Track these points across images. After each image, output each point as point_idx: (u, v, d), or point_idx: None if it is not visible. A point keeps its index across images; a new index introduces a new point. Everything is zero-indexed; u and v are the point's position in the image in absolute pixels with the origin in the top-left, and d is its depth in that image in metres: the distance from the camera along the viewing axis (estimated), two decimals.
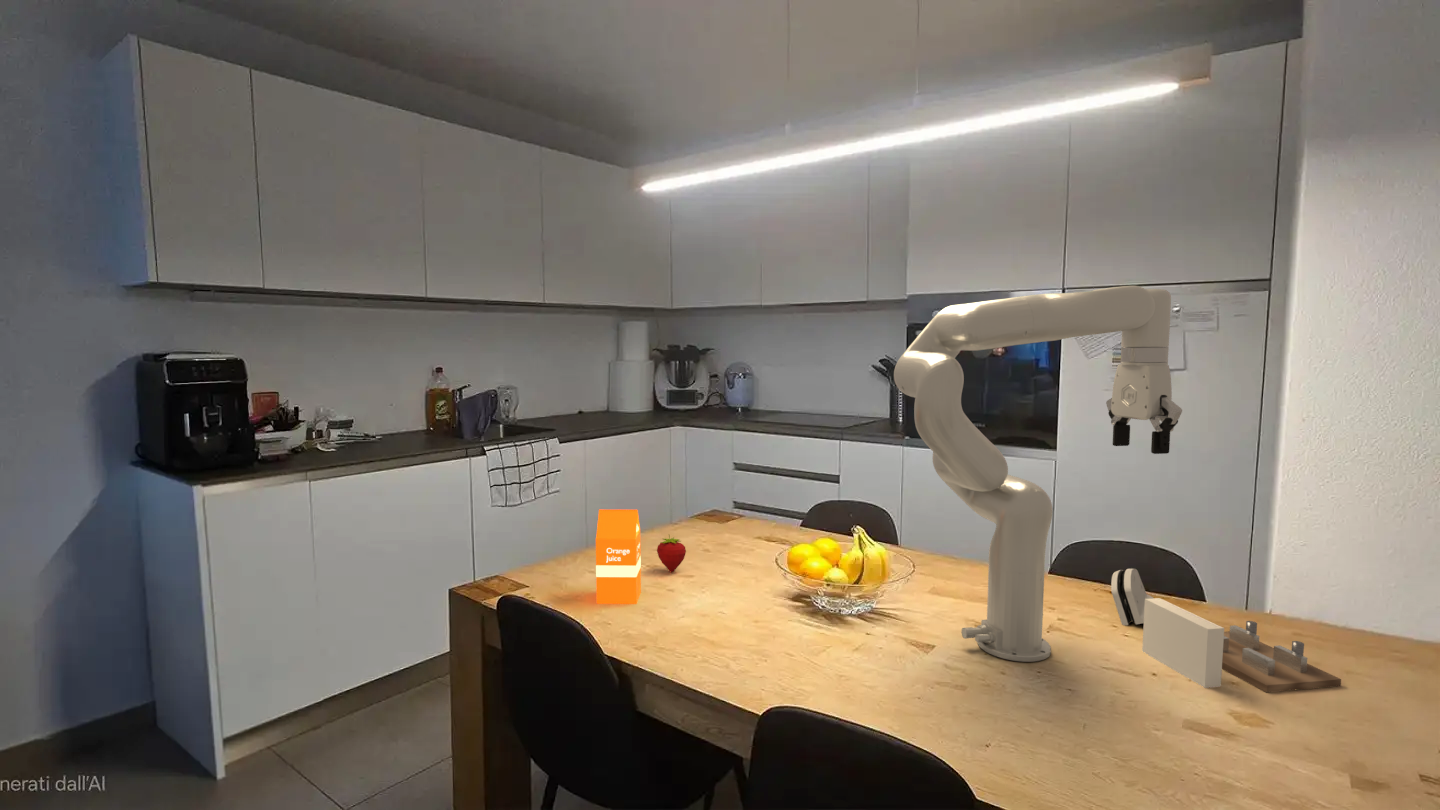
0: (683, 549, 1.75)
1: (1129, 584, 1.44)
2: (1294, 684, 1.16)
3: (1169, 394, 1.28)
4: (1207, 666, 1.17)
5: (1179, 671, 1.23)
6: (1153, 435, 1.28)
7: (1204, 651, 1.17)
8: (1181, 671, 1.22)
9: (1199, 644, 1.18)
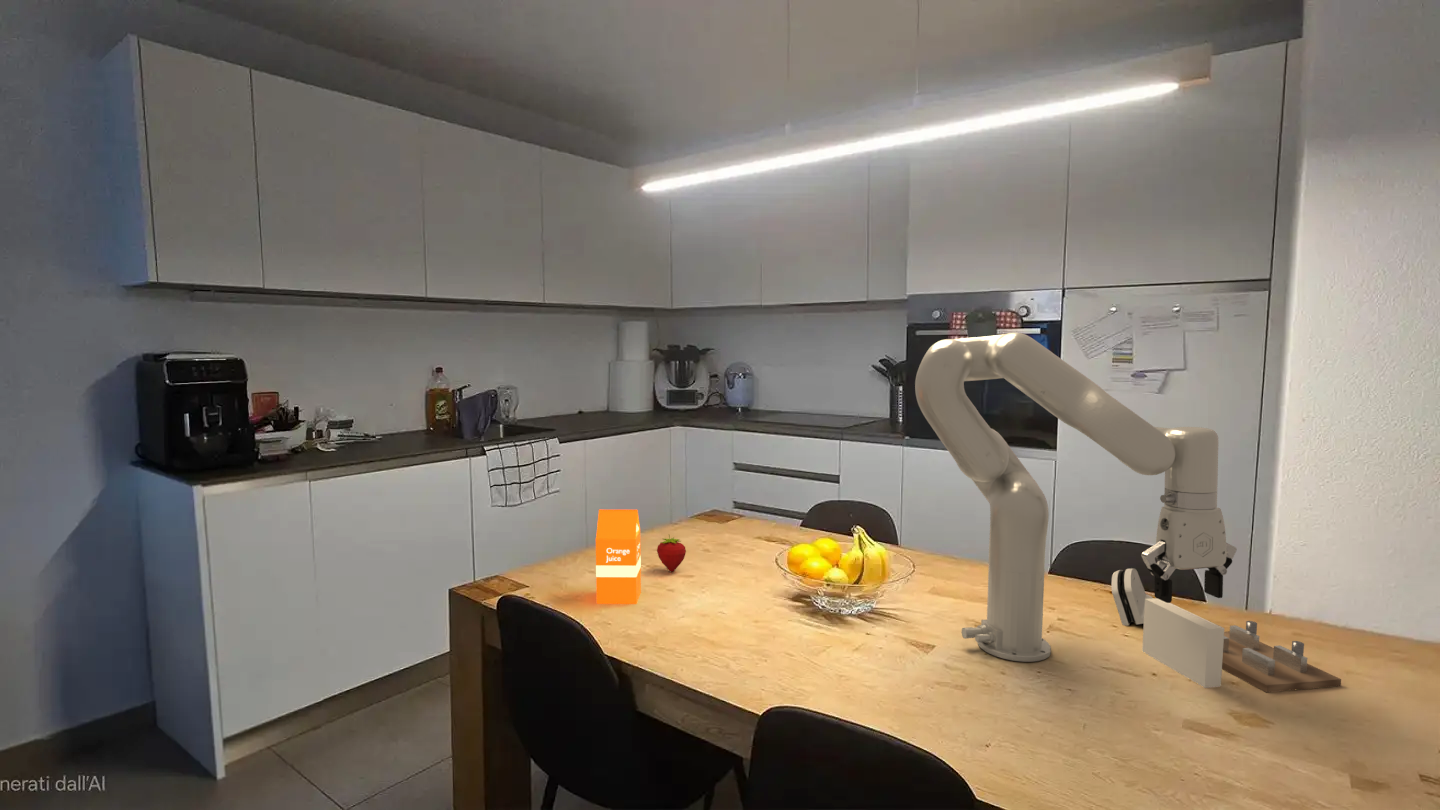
0: (683, 549, 1.75)
1: (1129, 584, 1.44)
2: (1294, 684, 1.16)
3: None
4: (1207, 666, 1.17)
5: (1179, 671, 1.23)
6: (1221, 579, 1.22)
7: (1204, 651, 1.17)
8: (1181, 671, 1.22)
9: (1200, 644, 1.18)
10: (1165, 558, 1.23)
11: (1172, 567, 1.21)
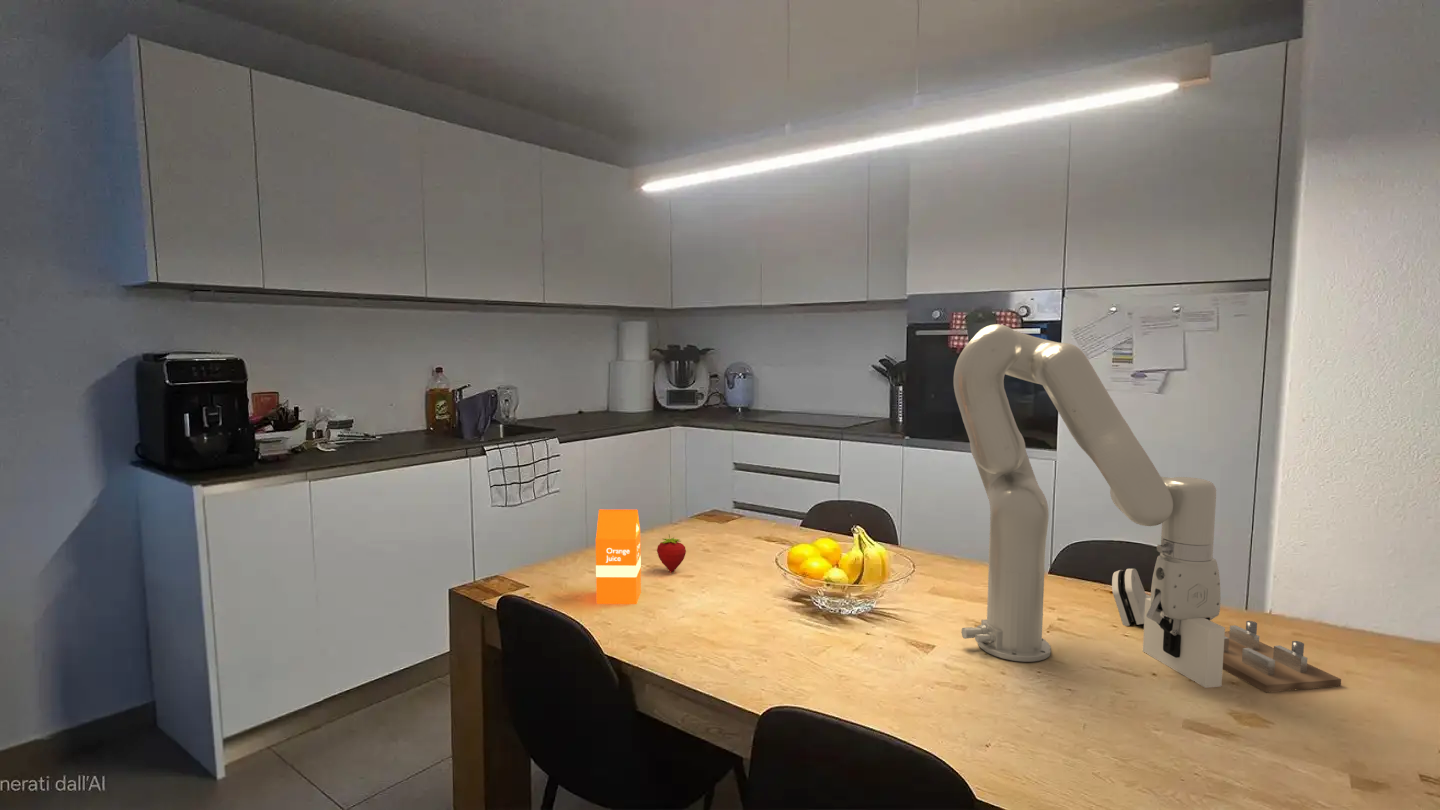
0: (683, 549, 1.75)
1: (1130, 584, 1.44)
2: (1294, 684, 1.16)
3: None
4: (1207, 666, 1.17)
5: (1180, 671, 1.23)
6: None
7: (1204, 650, 1.17)
8: (1182, 671, 1.22)
9: (1200, 643, 1.18)
10: None
11: (1176, 621, 1.22)
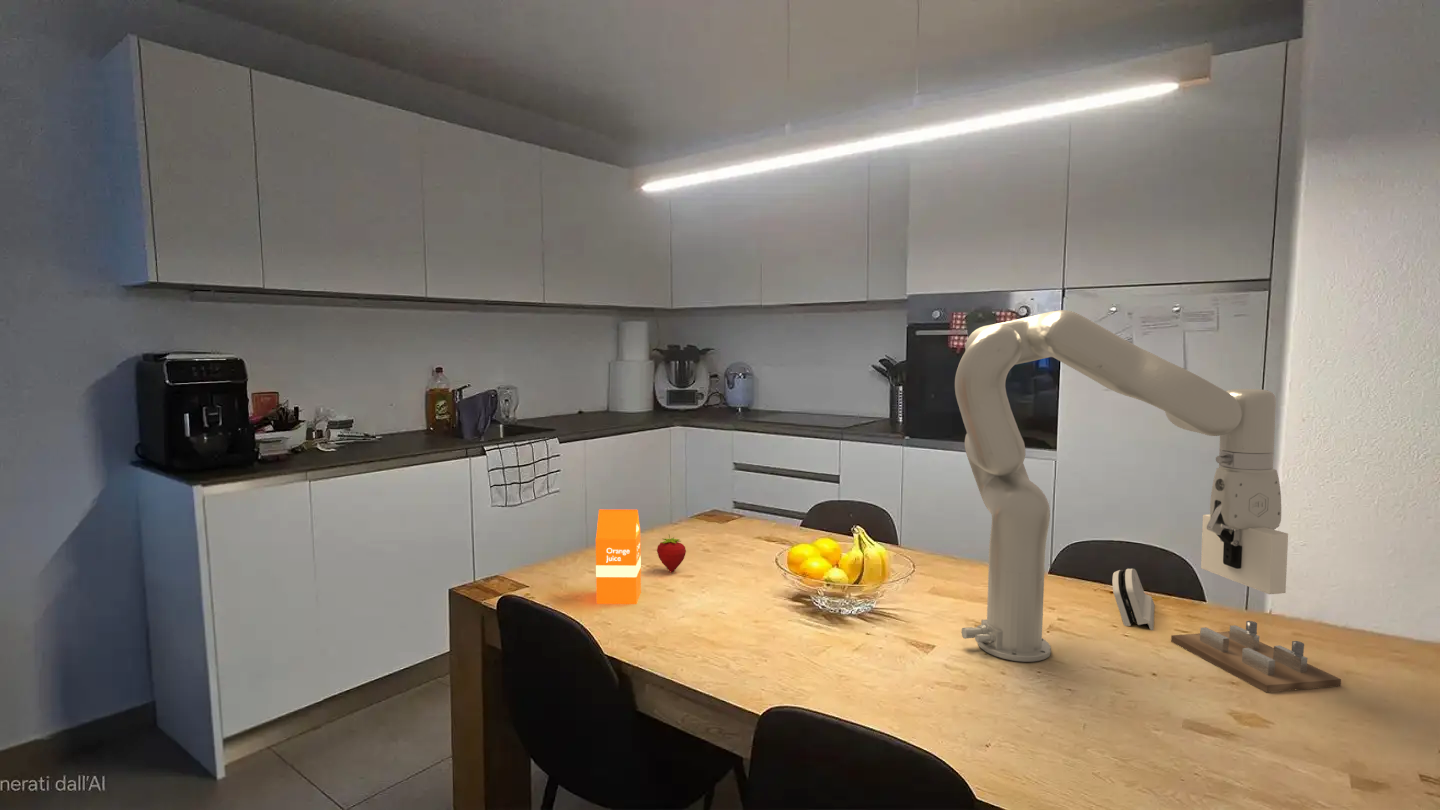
0: (683, 549, 1.75)
1: (1131, 584, 1.44)
2: (1294, 684, 1.16)
3: None
4: (1271, 572, 1.17)
5: (1241, 581, 1.23)
6: None
7: (1268, 557, 1.18)
8: (1244, 581, 1.22)
9: (1263, 551, 1.18)
10: None
11: (1237, 531, 1.22)
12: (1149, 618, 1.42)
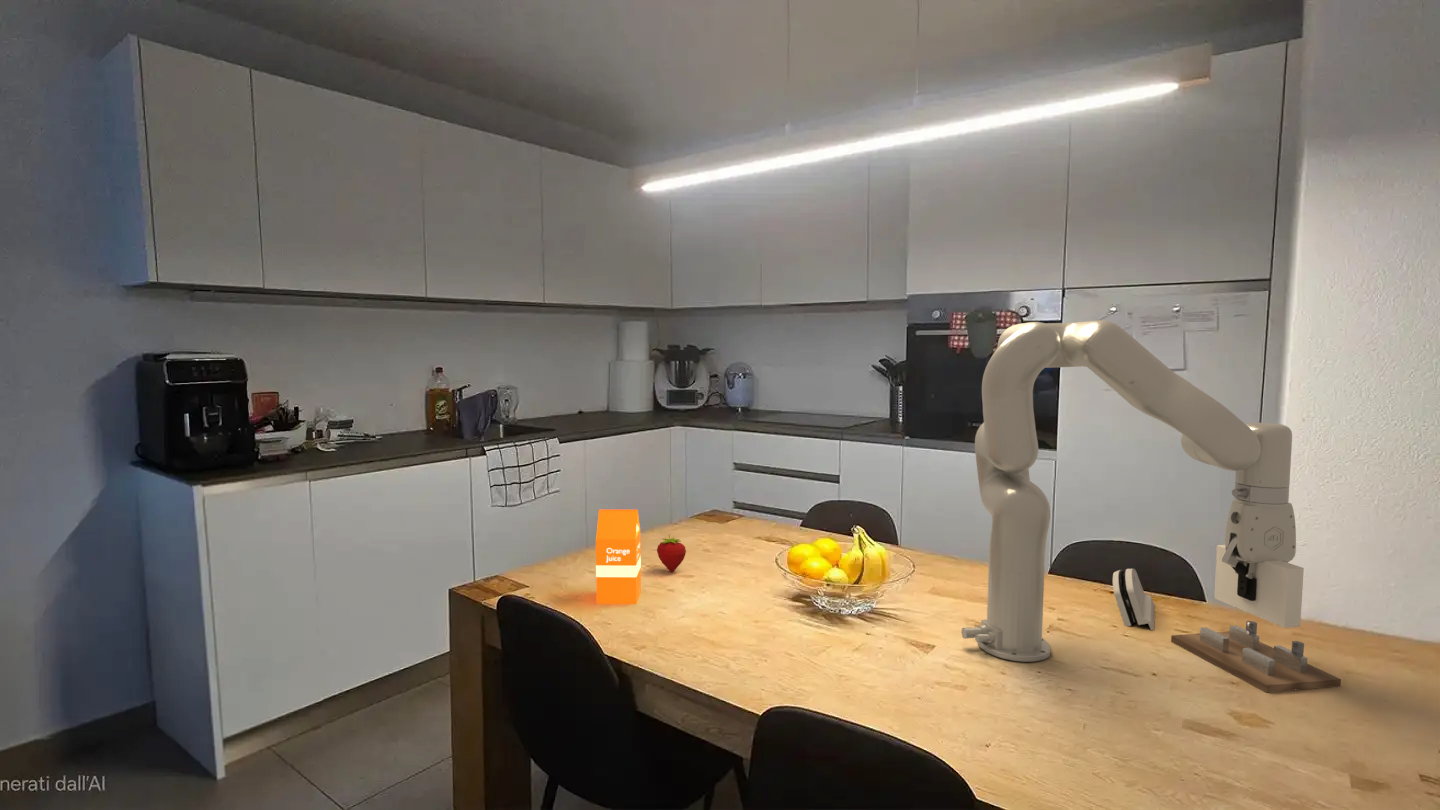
0: (683, 549, 1.75)
1: (1131, 585, 1.44)
2: (1294, 684, 1.16)
3: None
4: (1286, 606, 1.18)
5: (1256, 613, 1.24)
6: None
7: (1283, 591, 1.19)
8: (1258, 613, 1.23)
9: (1279, 584, 1.19)
10: None
11: (1252, 564, 1.23)
12: (1149, 618, 1.42)
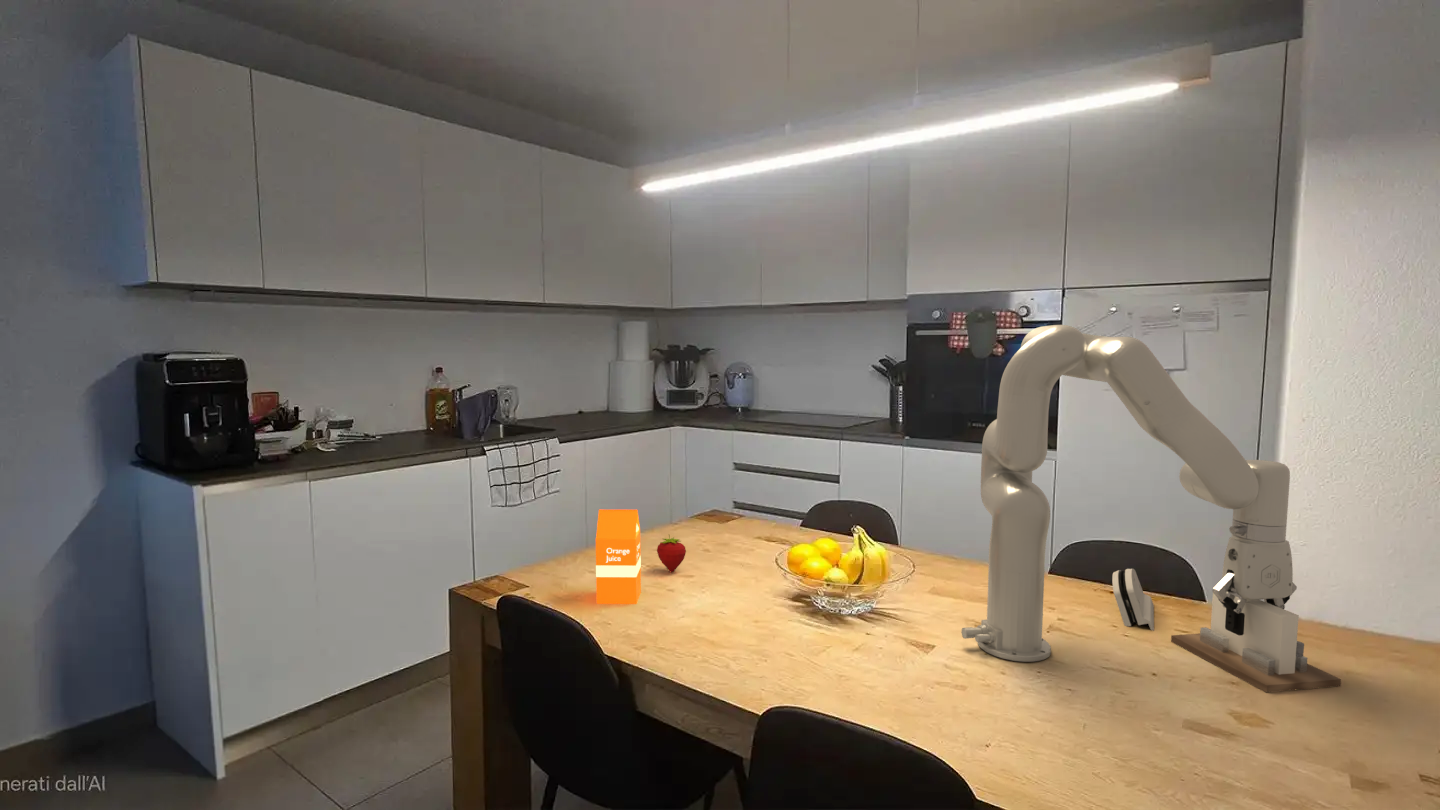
0: (683, 549, 1.75)
1: (1131, 585, 1.44)
2: (1294, 684, 1.16)
3: None
4: (1281, 653, 1.19)
5: None
6: None
7: (1278, 638, 1.19)
8: None
9: (1273, 631, 1.20)
10: (1231, 587, 1.26)
11: (1243, 599, 1.24)
12: (1149, 618, 1.42)
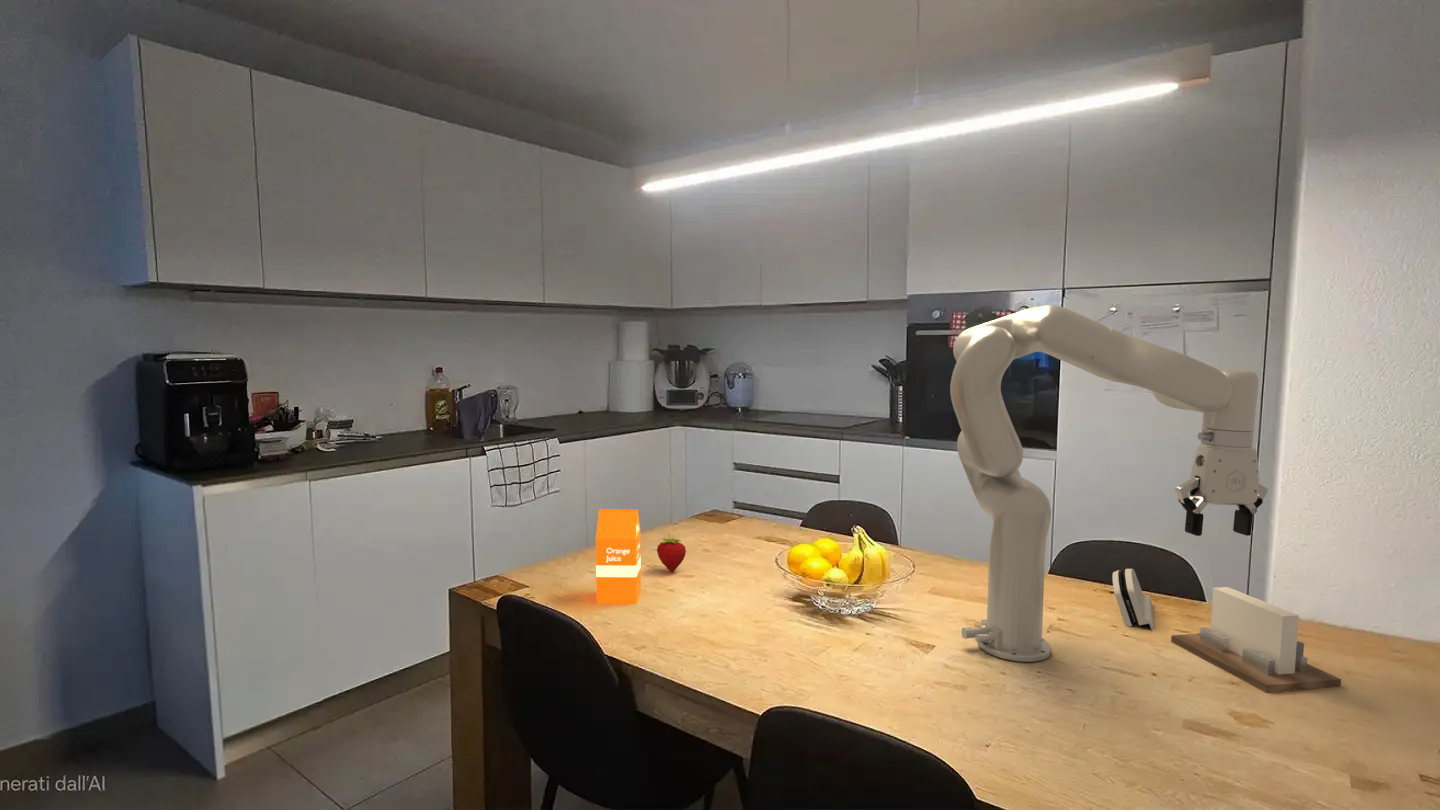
0: (683, 549, 1.75)
1: (1131, 585, 1.44)
2: (1294, 684, 1.16)
3: None
4: (1281, 653, 1.19)
5: None
6: (1251, 517, 1.27)
7: (1278, 638, 1.19)
8: None
9: (1273, 631, 1.20)
10: (1198, 494, 1.28)
11: (1204, 502, 1.26)
12: (1150, 618, 1.42)
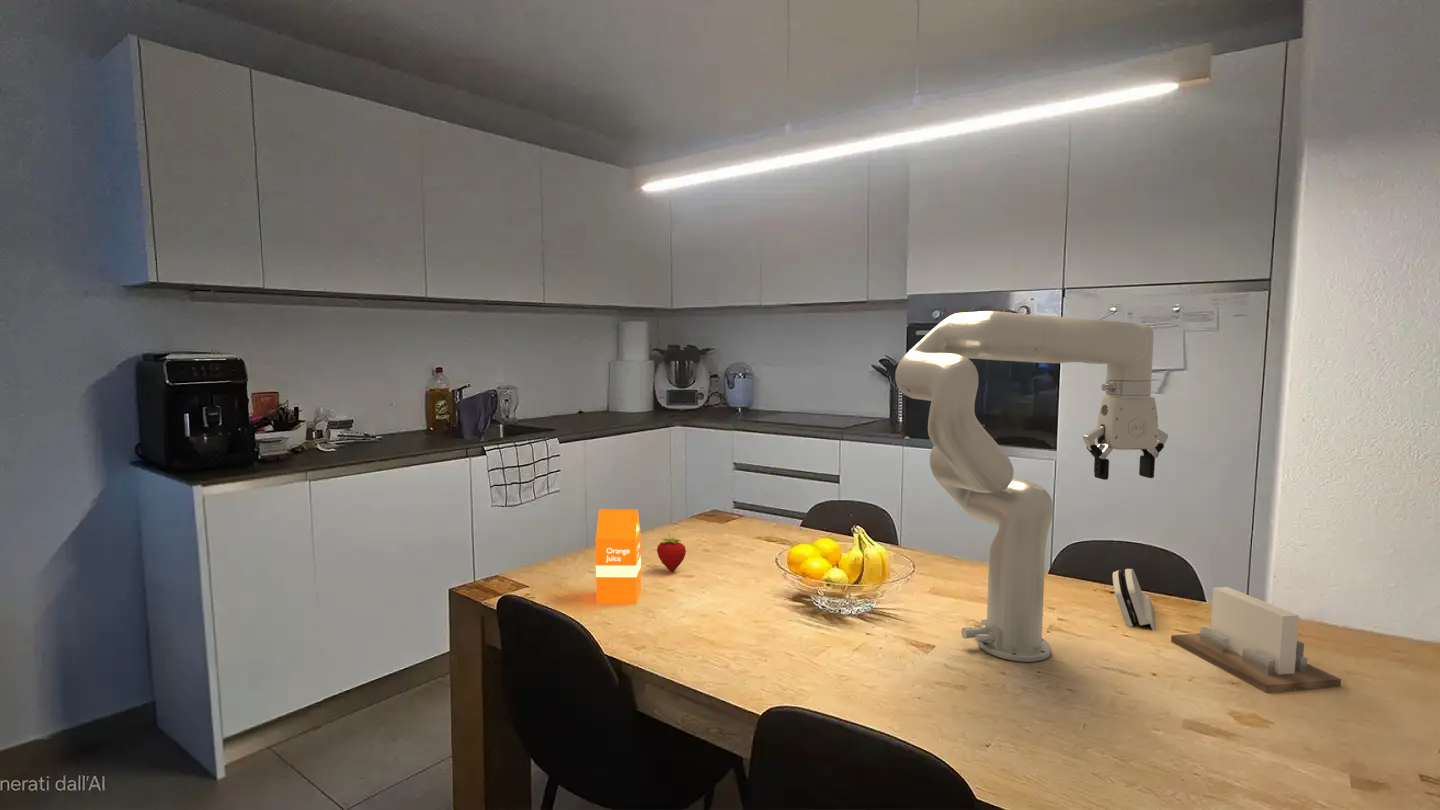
0: (683, 549, 1.75)
1: (1132, 585, 1.44)
2: (1294, 684, 1.16)
3: None
4: (1281, 653, 1.19)
5: None
6: (1153, 461, 1.38)
7: (1278, 638, 1.19)
8: None
9: (1273, 631, 1.20)
10: (1104, 442, 1.39)
11: (1109, 448, 1.36)
12: (1151, 618, 1.42)
